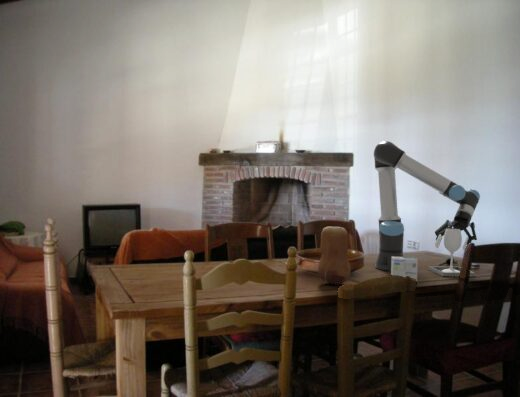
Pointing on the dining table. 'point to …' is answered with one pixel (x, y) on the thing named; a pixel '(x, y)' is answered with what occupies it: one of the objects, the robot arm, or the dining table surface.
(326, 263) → the butternut squash
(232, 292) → the dining table surface
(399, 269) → the light bulb box
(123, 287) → the dining table surface
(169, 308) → the dining table surface
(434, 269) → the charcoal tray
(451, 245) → the wineglass
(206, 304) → the dining table surface
